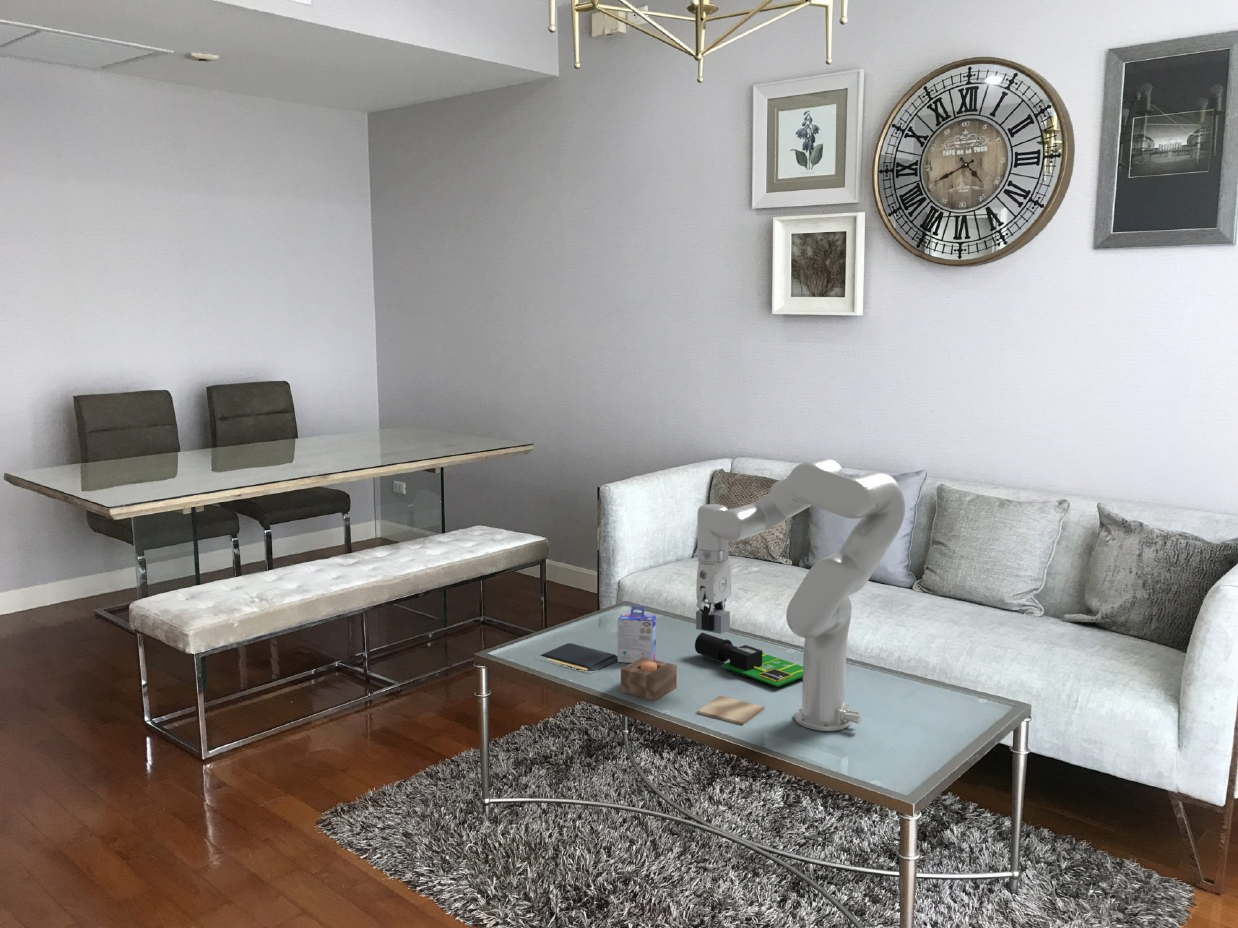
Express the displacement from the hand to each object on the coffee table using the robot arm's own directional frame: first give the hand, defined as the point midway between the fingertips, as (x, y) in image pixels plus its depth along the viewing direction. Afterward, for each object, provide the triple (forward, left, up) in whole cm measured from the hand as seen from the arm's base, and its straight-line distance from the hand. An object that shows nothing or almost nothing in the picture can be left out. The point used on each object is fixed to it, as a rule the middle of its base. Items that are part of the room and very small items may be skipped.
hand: (712, 626), depth 242 cm
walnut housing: (+12, +10, -16) cm, 23 cm away
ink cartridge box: (+26, -6, -16) cm, 32 cm away
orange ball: (+12, +10, -13) cm, 21 cm away
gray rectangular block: (0, 0, -1) cm, 1 cm away
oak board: (-11, +10, -16) cm, 22 cm away
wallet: (+40, +2, -17) cm, 44 cm away
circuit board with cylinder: (-2, -18, -16) cm, 25 cm away
